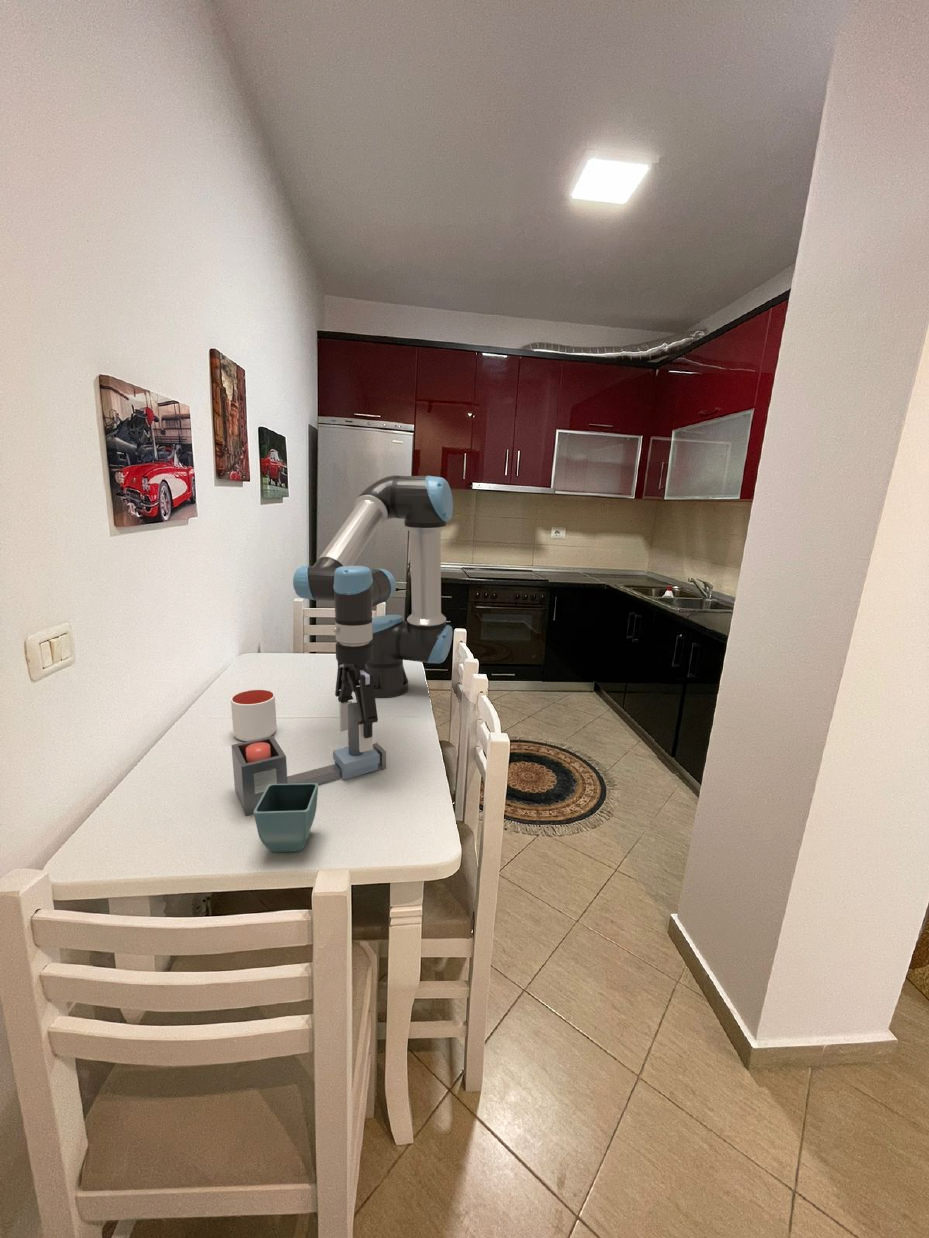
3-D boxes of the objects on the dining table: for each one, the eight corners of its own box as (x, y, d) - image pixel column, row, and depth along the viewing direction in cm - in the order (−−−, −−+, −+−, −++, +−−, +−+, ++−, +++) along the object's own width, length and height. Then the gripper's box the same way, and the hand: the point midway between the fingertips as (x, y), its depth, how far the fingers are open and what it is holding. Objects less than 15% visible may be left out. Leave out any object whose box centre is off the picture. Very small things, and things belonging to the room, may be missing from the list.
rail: (377, 758, 118) (376, 742, 117) (386, 768, 114) (386, 751, 113) (278, 784, 106) (277, 767, 105) (285, 796, 102) (284, 778, 101)
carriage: (367, 757, 118) (366, 696, 114) (379, 771, 112) (379, 707, 109) (333, 766, 114) (331, 703, 110) (344, 781, 108) (343, 715, 104)
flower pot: (270, 827, 93) (268, 782, 91) (320, 826, 94) (318, 782, 92) (255, 860, 84) (252, 812, 82) (310, 859, 85) (308, 811, 83)
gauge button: (268, 763, 104) (267, 740, 103) (273, 772, 100) (272, 749, 99) (245, 768, 101) (243, 745, 100) (250, 778, 98) (248, 755, 97)
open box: (275, 779, 108) (273, 735, 106) (288, 803, 100) (286, 756, 98) (234, 789, 104) (231, 744, 102) (245, 816, 96) (241, 767, 93)
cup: (262, 745, 123) (259, 706, 120) (224, 740, 125) (221, 702, 122) (284, 728, 132) (282, 691, 130) (249, 723, 134) (247, 687, 132)
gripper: (318, 630, 114) (321, 723, 119) (358, 659, 95) (360, 767, 100) (350, 627, 118) (352, 716, 123) (395, 653, 99) (395, 757, 104)
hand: (355, 739), depth 111 cm, fingers open, 10 cm apart
